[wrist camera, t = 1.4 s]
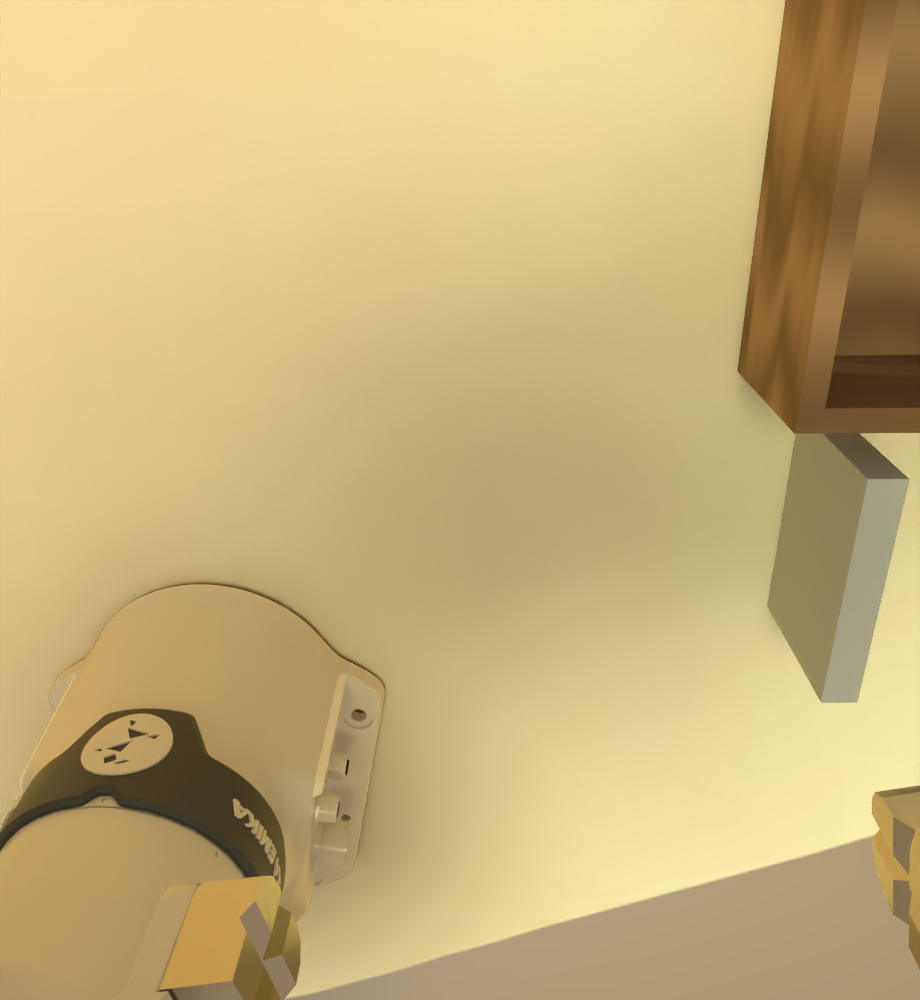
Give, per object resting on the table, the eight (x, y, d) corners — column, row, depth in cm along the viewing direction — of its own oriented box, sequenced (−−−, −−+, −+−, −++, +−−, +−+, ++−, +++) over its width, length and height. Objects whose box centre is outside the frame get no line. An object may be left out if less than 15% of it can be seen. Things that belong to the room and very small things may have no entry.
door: (816, 605, 45) (879, 702, 38) (767, 605, 45) (821, 702, 38) (854, 409, 41) (935, 478, 33) (799, 410, 41) (867, 479, 33)
